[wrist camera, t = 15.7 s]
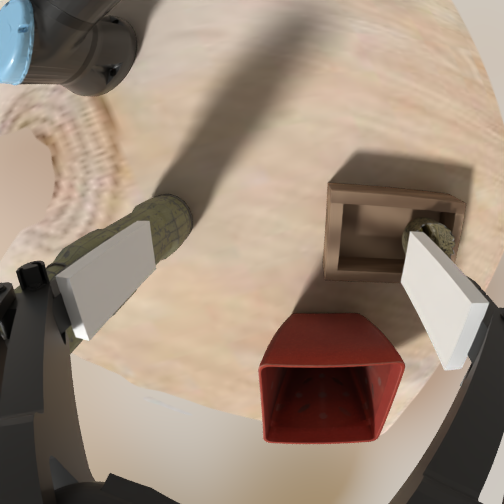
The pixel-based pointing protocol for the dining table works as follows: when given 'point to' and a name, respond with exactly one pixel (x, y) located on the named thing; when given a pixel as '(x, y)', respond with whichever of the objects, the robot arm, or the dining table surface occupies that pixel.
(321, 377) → the plant pot
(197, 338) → the dining table surface
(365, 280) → the walnut box
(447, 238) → the olive textured bell shape
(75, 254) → the thermos
